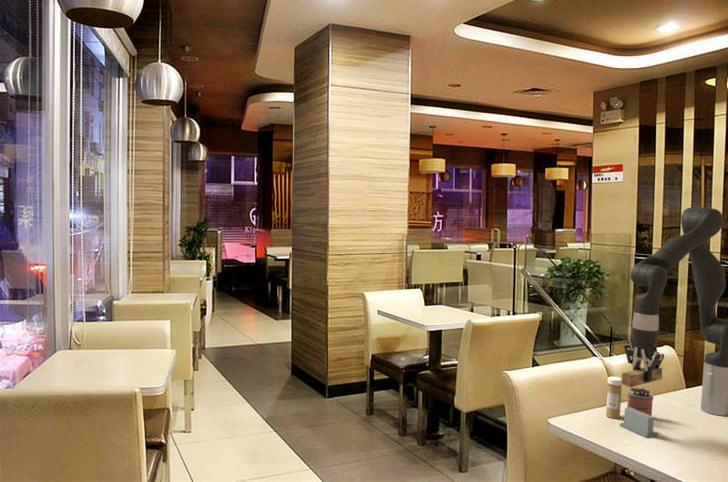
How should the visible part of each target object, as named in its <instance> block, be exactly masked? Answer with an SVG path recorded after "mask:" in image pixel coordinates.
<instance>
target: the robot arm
mask: <svg viewBox="0 0 728 482" xmlns="http://www.w3.org/2000/svg"><path fill="white" fill-rule="evenodd" d="M723 223H724V217H723V214H722V213H721V211H720V210H718V209H716V208H713V207H711V208H710V207H687V208H685V209H684V210H683V212H682V214H681V219H680V224H681V229H682V233H683V234H681V235H679V236H677V237H675V238H672V239H669V240H668V241H666V242H665V243H664V244H663V245H662V246H660V248H658V249H657V250H656V252H655V253H654V254H651V255H649V256H648V257H646V258H644V259H642V260H640V261H639V262H637V263H636V264H635V265H634V266H633V267H632V270H631V272H630V280H631V282H632V283H633V284H634V285H637V286H641V287H646V288H648V291H647V292H646V293H639V294H636V296H635V298H634V309H633V310H634V311H633V317H632V325H631V327H632V328H631V341H632V342H631V344H624V345H623V347H624V352H625V356H626V360H627V363H628V364H630V365H631V366H632V371H633V370H638V369H641V368H642V367H641V365H642V363H643V368H644V369H645V370H644V382H649V383H651V382H650V381H651V377H652V371H653V370H658V368H659V367H660V366H661V364H662V362H663V360H664V359H665V354H664V353H660V352H659V351H658V349H657V344H658V342H659V341H658V340H659V339H658V338H659V329H660V327H659V326H660V324H659V323H660V316H659V314H660V303H661V299H662V296H663V293H664V290H665V288H666V285H667V282H668V279H669V277H668V272H670V271H671V270H673V269H674V268H675V267H676V266H677V265H678V264H679V263H680V262H681V261H682V260H683V259H684V258H685V257H686V256H687V255H688V254H689V258H690V263H691V269H692V277H693V280H694V281H693V282H694V287H695V290H696V294H697V302H698V307H699V309H698V310H699V324H700V326H699V327H700V333H701V337H702V338H703V339H704V341H705V342H707V343H711V344H713V345H718V346H719V351H717V352H708V353H706V354H705V355H704V360H703V361H704V363H703V372H702V373H703V374H702V388H701V397H700V398H701V400H700V409H701V410H702V411H703V412H706V413H708V414H711V415H716V416H722V417H723V416H728V319H725V318H719V317H718V315H717V312H716V311H717V309H716V305H717V303H718V302H719V300H720V299H721V296H722V295H723V294H724V292H725V290H726V286H727V282H726V276H725V275H726V274H725V270H724V267H723V264H721V261H720V260H719V259H718V258H717V257H716V256H715V254H713V252H712V251H711V250H710V249H709V247H708V246H707V244H706V243H705V242H706V241H708V240H709V239H711V238H713V237H715V236H716V235H717V234H718V233H719V232H720V230H721V229H722V227H723Z"/></svg>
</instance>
